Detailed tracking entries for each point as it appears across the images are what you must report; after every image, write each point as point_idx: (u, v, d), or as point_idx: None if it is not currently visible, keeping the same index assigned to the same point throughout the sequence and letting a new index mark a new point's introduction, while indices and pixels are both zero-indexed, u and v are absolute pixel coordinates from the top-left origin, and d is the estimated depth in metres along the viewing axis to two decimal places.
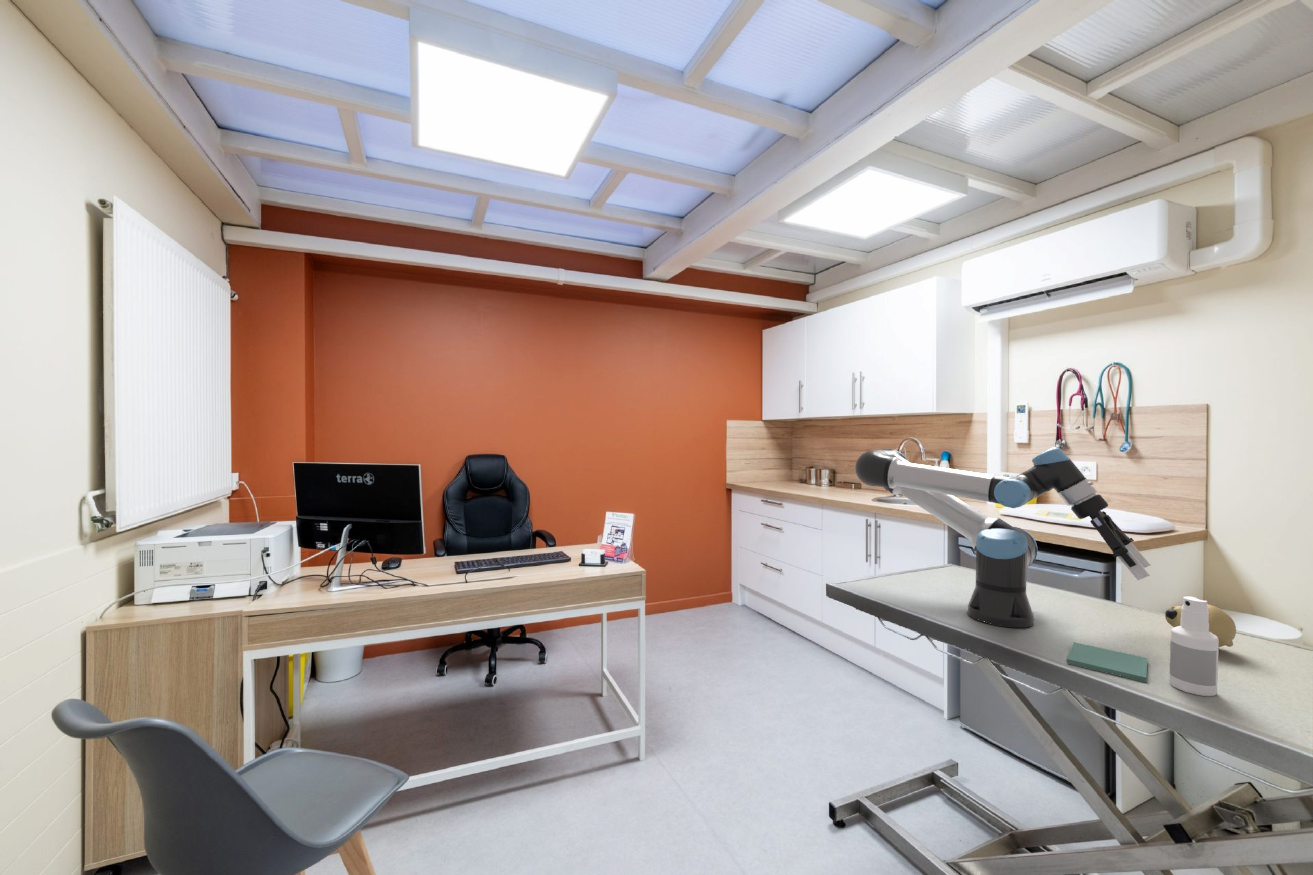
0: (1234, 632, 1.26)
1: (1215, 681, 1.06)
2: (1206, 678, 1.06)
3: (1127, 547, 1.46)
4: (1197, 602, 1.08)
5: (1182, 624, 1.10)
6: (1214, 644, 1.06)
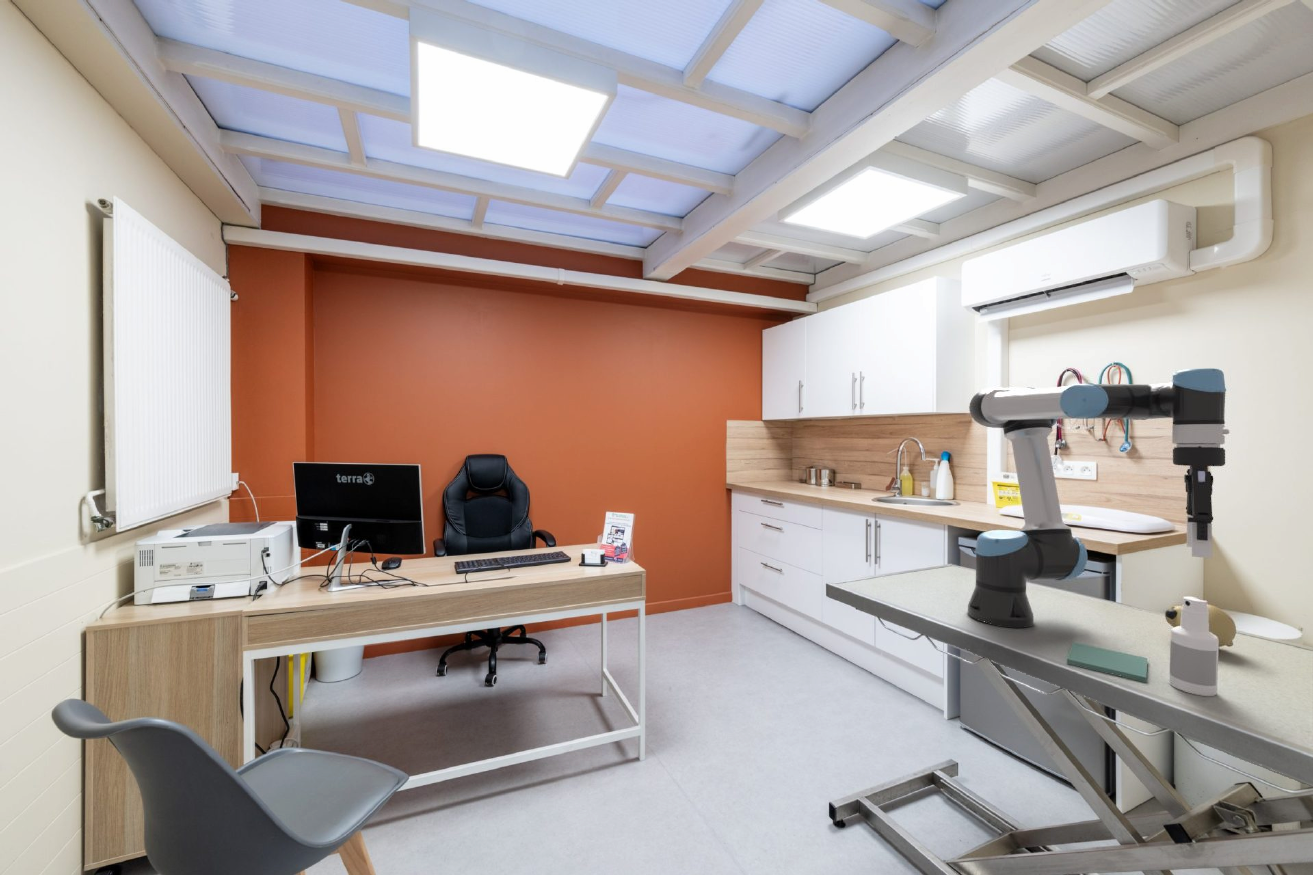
0: (1234, 632, 1.26)
1: (1215, 681, 1.06)
2: (1206, 678, 1.06)
3: None
4: (1197, 602, 1.08)
5: (1182, 624, 1.10)
6: (1214, 644, 1.06)
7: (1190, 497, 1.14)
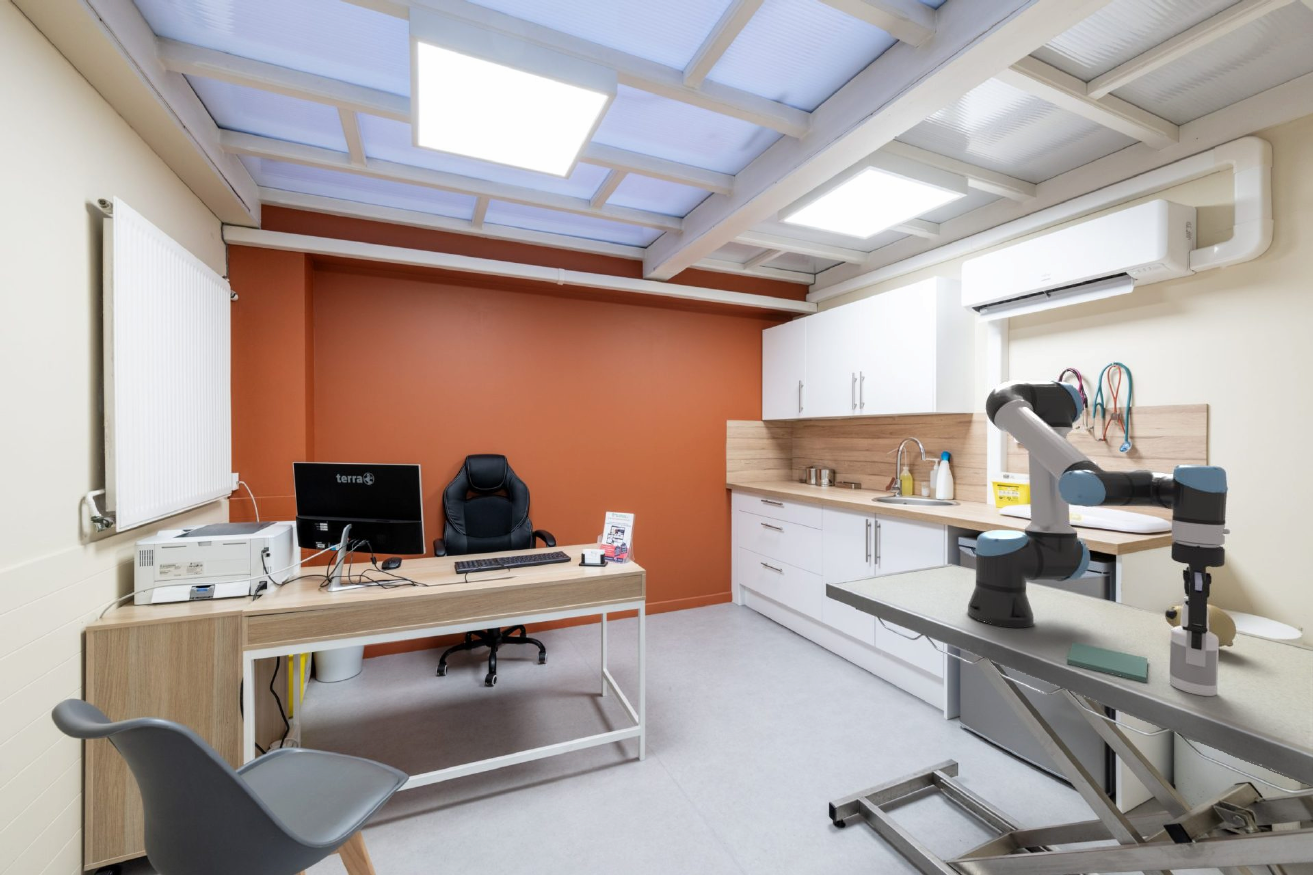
0: (1234, 632, 1.26)
1: (1215, 681, 1.06)
2: (1206, 678, 1.06)
3: None
4: None
5: (1182, 624, 1.10)
6: (1214, 644, 1.06)
7: None
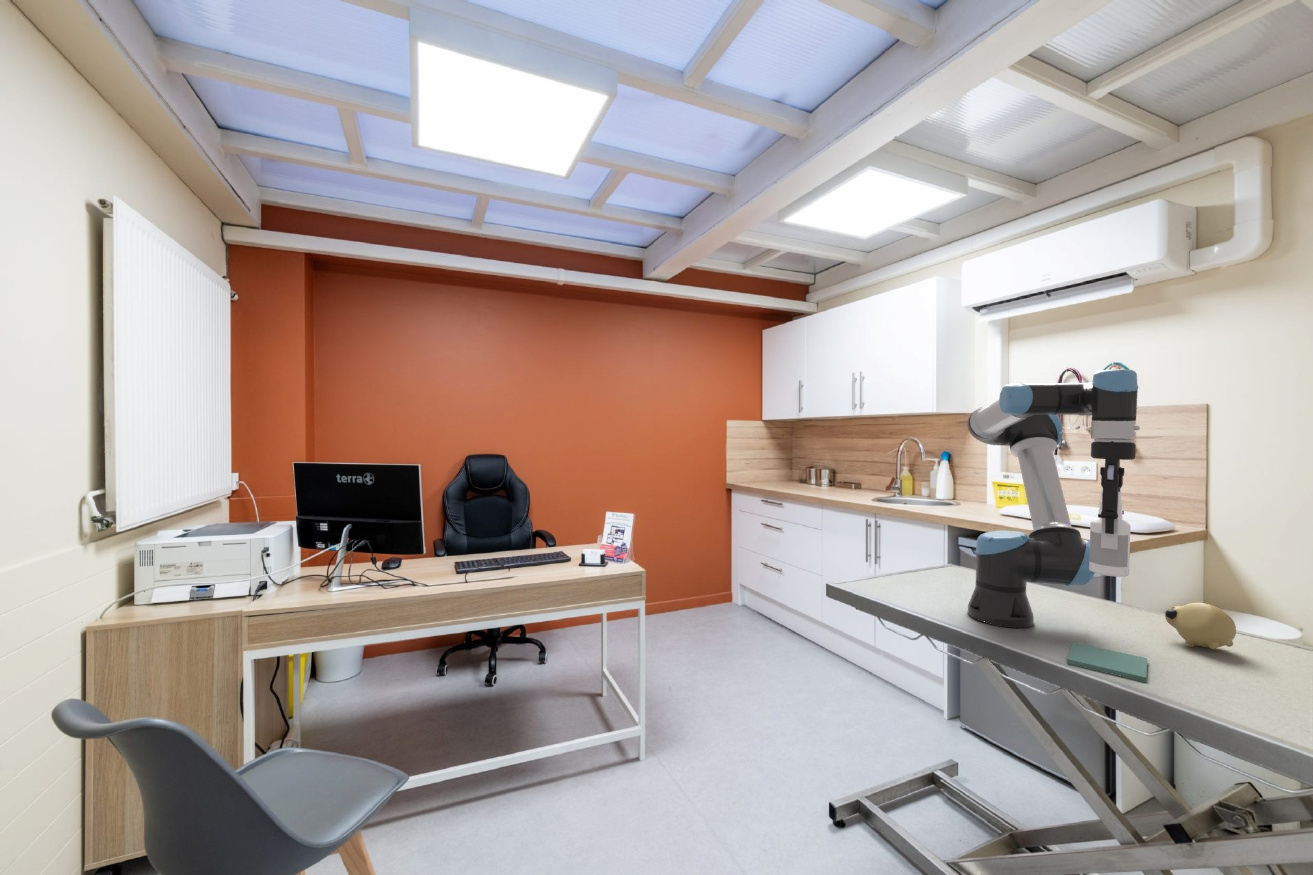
0: (1234, 632, 1.26)
1: (1127, 563, 1.18)
2: (1119, 560, 1.18)
3: None
4: None
5: None
6: (1126, 529, 1.17)
7: None
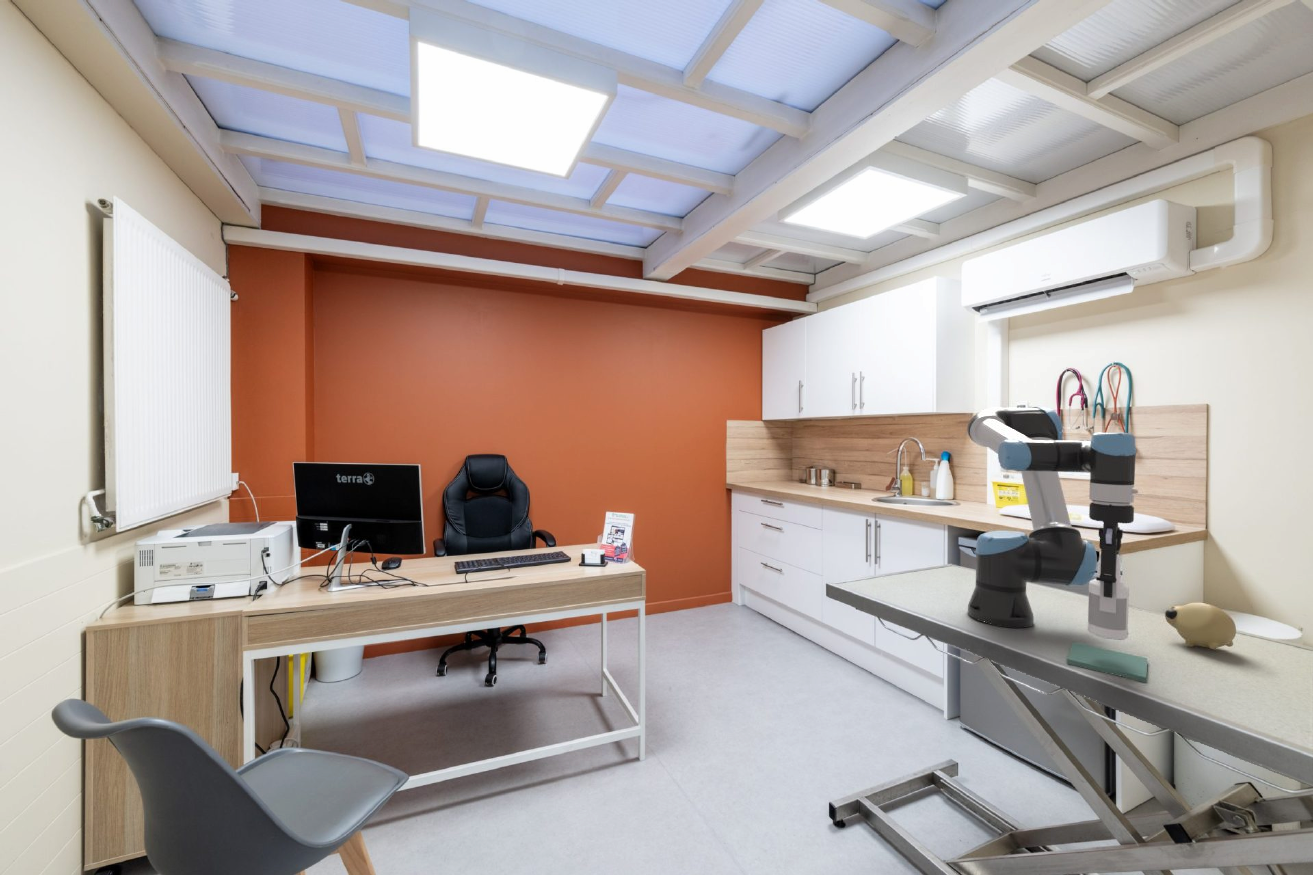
0: (1234, 632, 1.26)
1: (1125, 626, 1.18)
2: (1117, 623, 1.18)
3: None
4: None
5: (1098, 576, 1.21)
6: (1124, 593, 1.18)
7: None
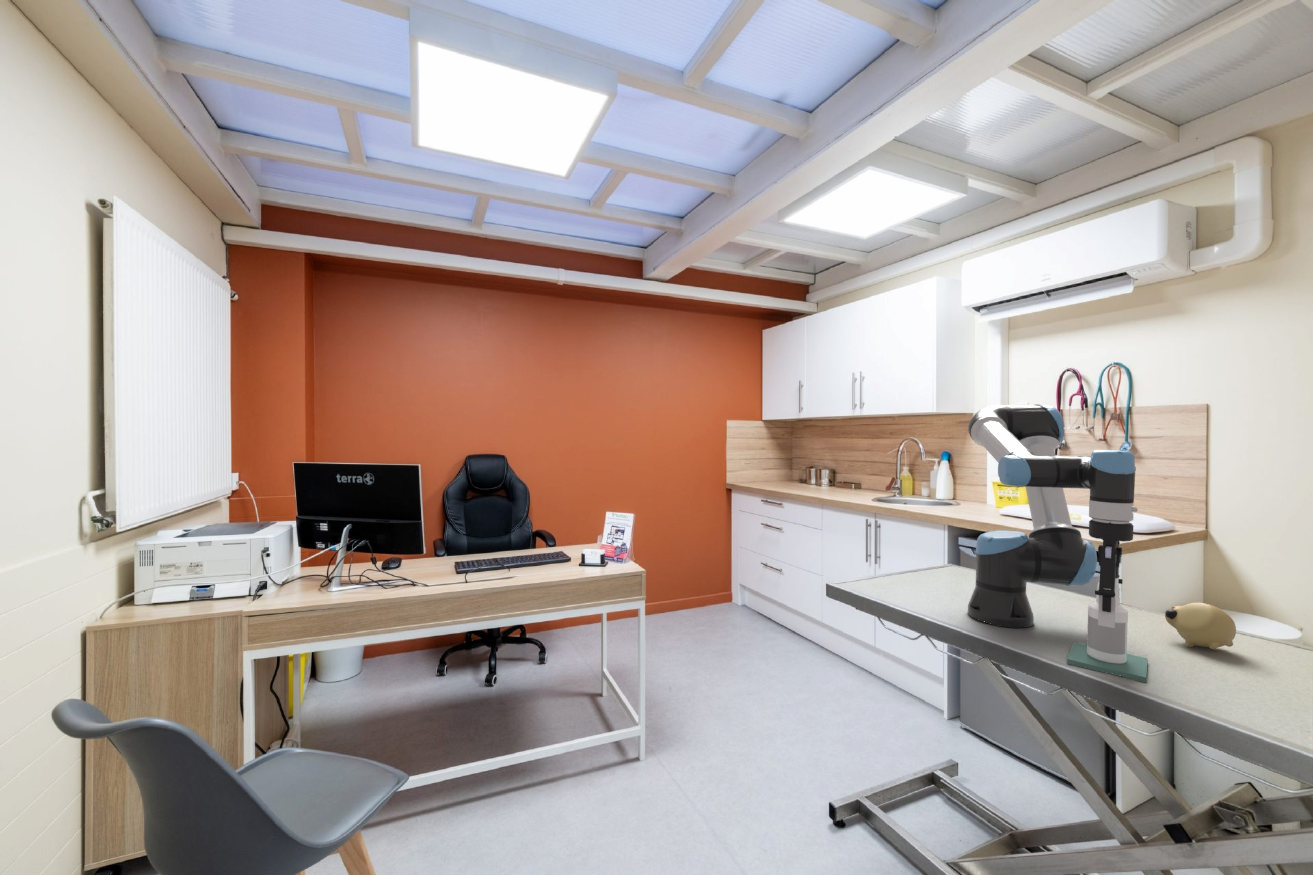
0: (1234, 632, 1.26)
1: (1124, 650, 1.18)
2: (1116, 647, 1.18)
3: None
4: None
5: (1097, 599, 1.22)
6: (1123, 617, 1.18)
7: None
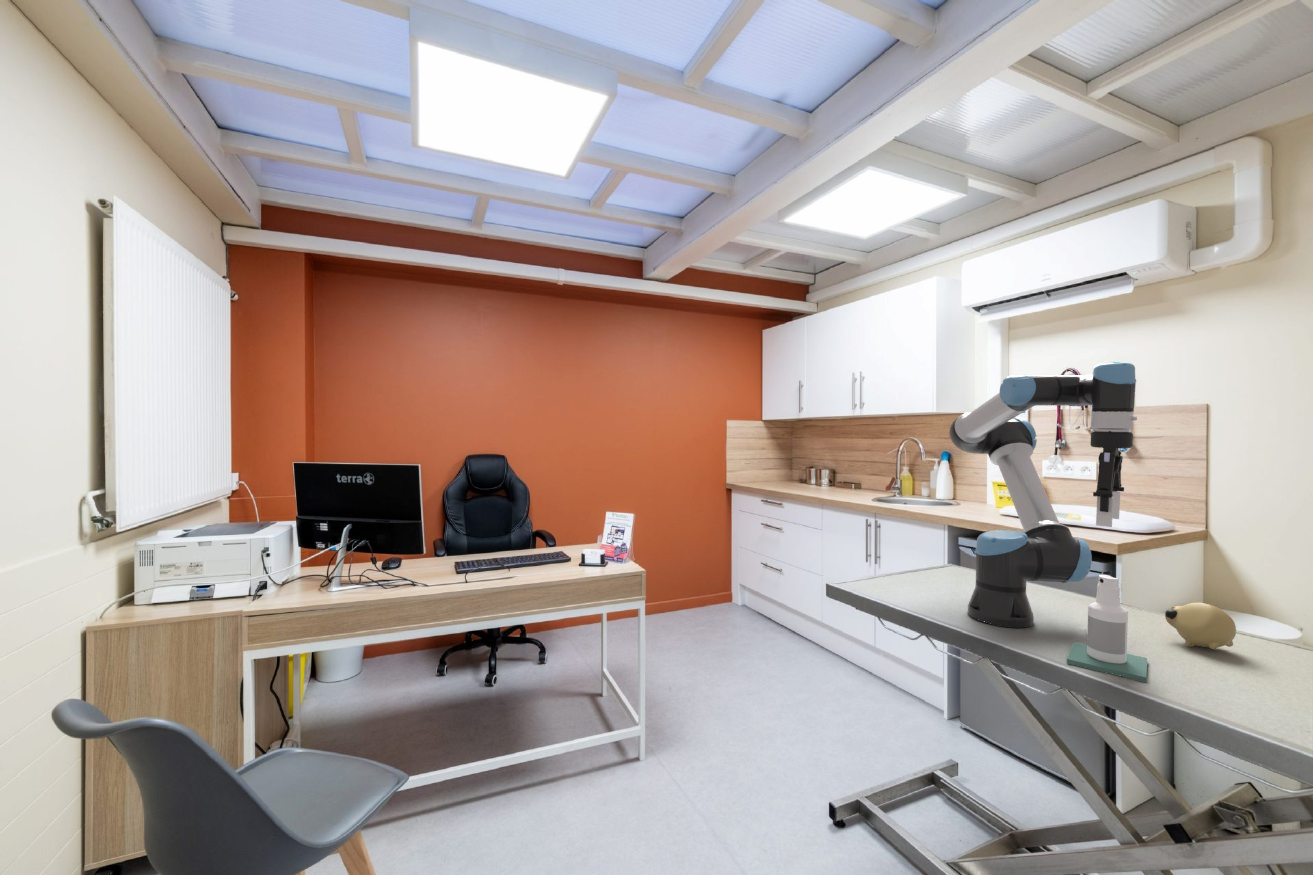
0: (1234, 632, 1.26)
1: (1124, 650, 1.18)
2: (1116, 647, 1.18)
3: (1112, 493, 1.32)
4: (1109, 579, 1.20)
5: (1097, 599, 1.22)
6: (1123, 617, 1.18)
7: None
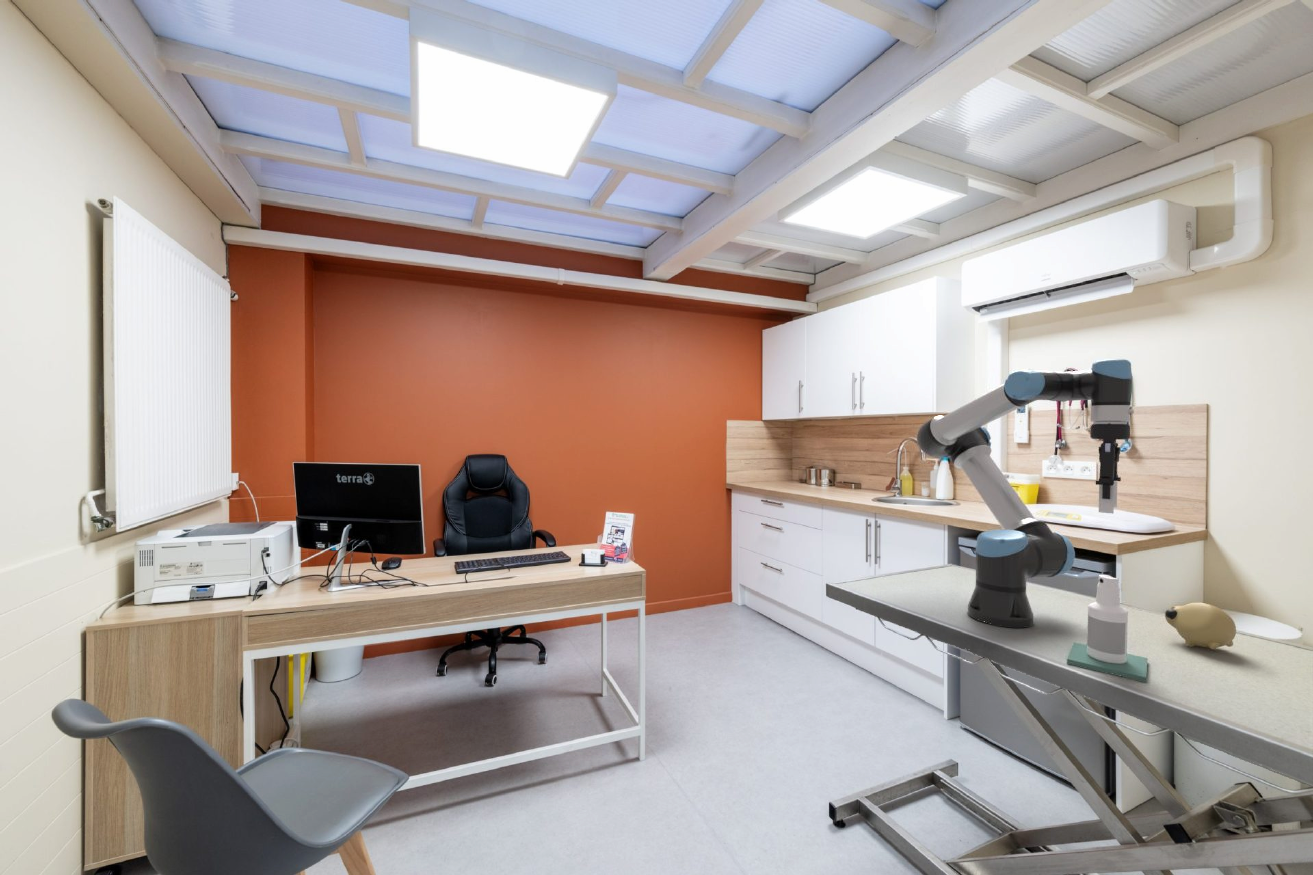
0: (1234, 632, 1.26)
1: (1124, 650, 1.18)
2: (1116, 647, 1.18)
3: None
4: (1109, 579, 1.20)
5: (1097, 599, 1.22)
6: (1123, 617, 1.18)
7: None
